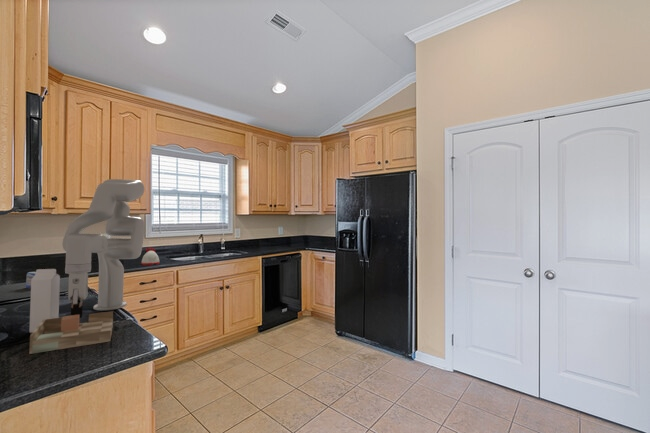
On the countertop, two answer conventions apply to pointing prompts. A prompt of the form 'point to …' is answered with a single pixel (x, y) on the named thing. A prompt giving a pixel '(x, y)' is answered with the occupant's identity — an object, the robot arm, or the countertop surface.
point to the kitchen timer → (150, 257)
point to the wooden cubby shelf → (71, 333)
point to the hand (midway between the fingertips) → (76, 317)
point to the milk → (44, 297)
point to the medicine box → (29, 279)
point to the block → (70, 323)
